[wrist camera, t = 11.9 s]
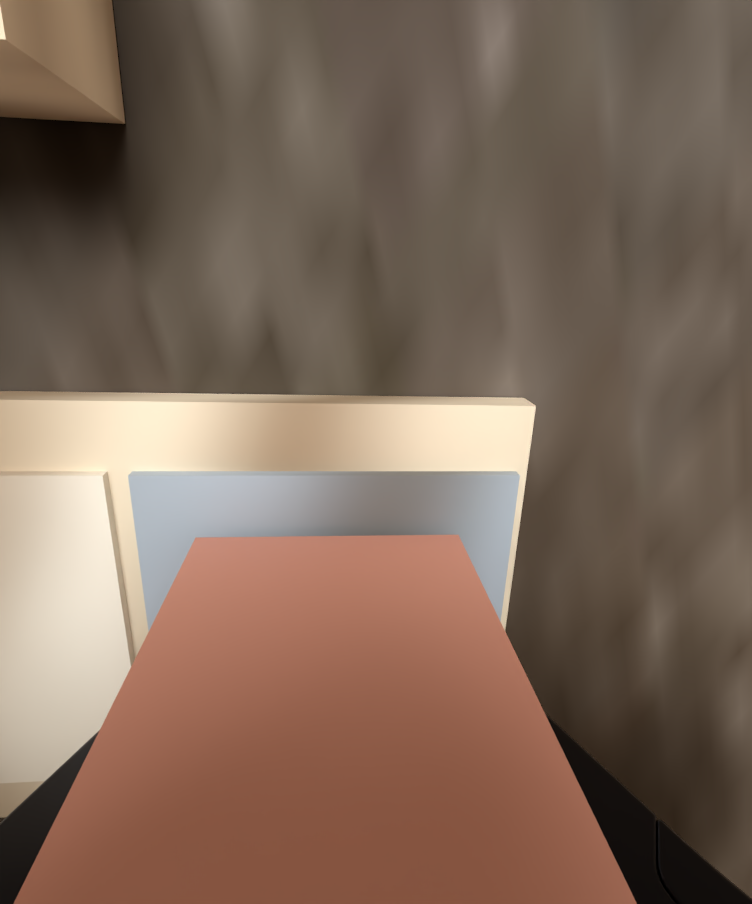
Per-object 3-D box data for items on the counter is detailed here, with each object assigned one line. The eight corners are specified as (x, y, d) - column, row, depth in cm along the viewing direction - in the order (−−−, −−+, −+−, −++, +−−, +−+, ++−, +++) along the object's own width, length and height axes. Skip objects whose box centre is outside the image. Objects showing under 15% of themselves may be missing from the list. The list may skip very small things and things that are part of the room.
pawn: (458, 534, 9) (853, 1353, 2) (440, 731, 11) (645, 1597, 4) (195, 537, 9) (-307, 1551, 2) (214, 741, 10) (-29, 1733, 3)
